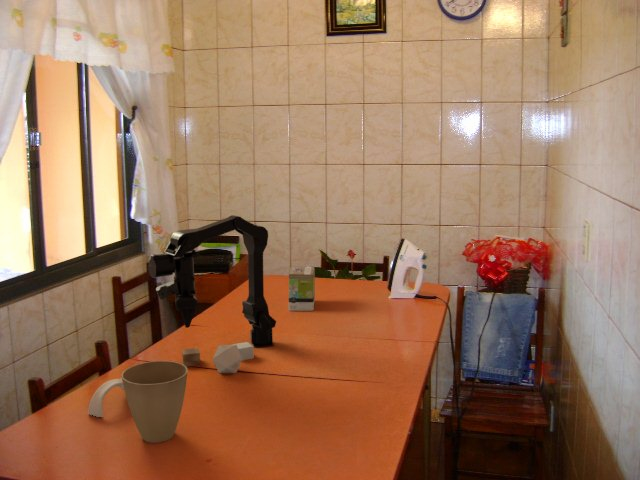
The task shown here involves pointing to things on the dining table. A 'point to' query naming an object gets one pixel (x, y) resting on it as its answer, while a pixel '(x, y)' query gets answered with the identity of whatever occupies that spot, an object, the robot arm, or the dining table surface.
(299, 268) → the tea box
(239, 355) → the pale faceted polyhedron
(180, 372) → the plant pot
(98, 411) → the white curved arch
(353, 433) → the dining table surface
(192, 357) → the walnut block
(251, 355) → the grey block
